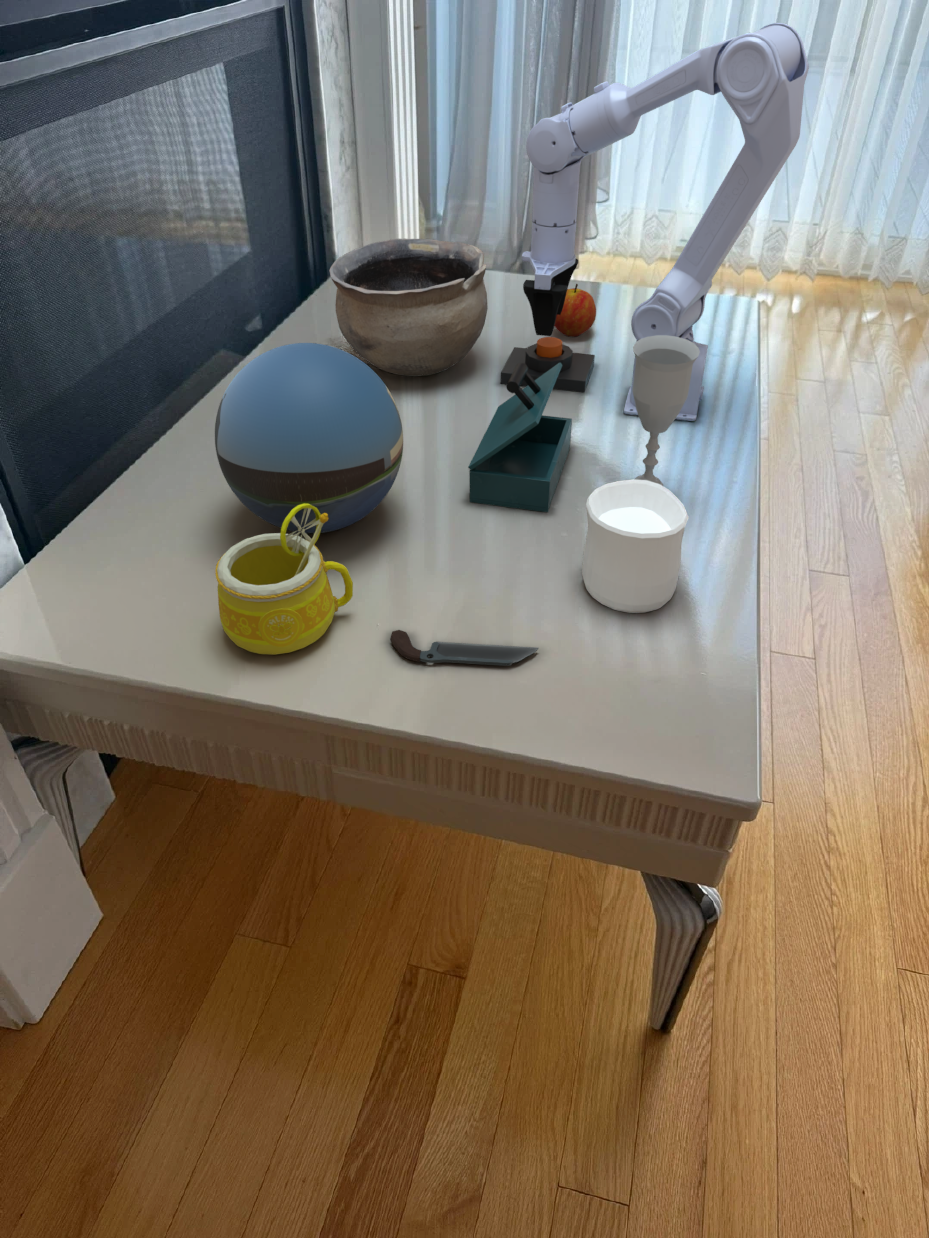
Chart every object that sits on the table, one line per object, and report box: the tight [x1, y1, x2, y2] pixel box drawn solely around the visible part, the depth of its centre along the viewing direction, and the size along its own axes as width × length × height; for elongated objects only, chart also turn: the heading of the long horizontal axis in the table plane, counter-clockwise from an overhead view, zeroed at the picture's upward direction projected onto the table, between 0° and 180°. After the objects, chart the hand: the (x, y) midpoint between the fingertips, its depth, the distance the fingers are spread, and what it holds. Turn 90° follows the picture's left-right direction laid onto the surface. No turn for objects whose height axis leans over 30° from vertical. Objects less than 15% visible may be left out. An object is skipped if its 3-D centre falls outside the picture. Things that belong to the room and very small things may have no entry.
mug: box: [214, 503, 354, 655], centre depth 84 cm, size 13×11×12 cm
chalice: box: [632, 335, 700, 487], centre depth 98 cm, size 7×7×18 cm
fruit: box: [554, 283, 597, 338], centre depth 138 cm, size 7×7×8 cm
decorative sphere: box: [214, 342, 404, 534], centre depth 95 cm, size 20×20×20 cm
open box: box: [468, 414, 573, 513], centre depth 107 cm, size 9×15×4 cm, turn 165°
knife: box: [389, 629, 540, 667], centre depth 84 cm, size 14×4×1 cm, turn 84°
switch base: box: [500, 342, 596, 393], centre depth 129 cm, size 12×9×4 cm
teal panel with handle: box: [467, 363, 562, 471], centre depth 103 cm, size 10×15×4 cm
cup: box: [581, 478, 690, 614], centre depth 89 cm, size 10×10×10 cm
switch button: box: [536, 336, 563, 358], centre depth 127 cm, size 4×4×2 cm
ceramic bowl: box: [329, 238, 488, 377], centre depth 128 cm, size 22×22×15 cm
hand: (548, 324), depth 124 cm, fingers open, 7 cm apart
